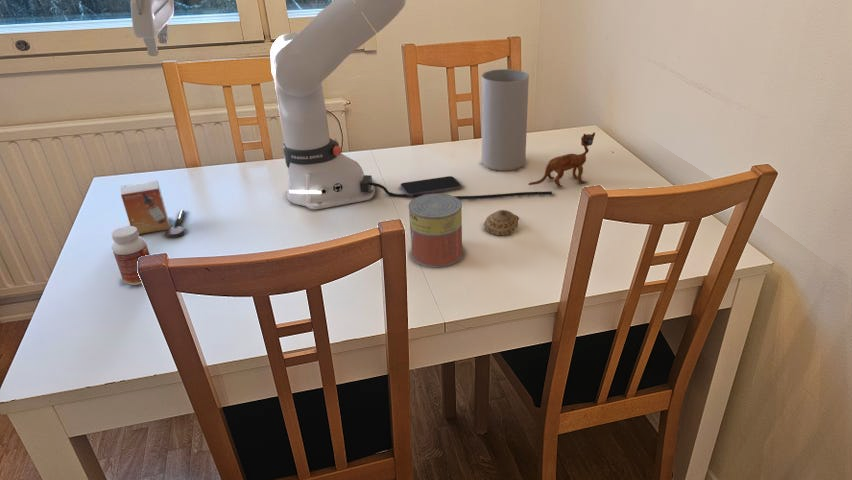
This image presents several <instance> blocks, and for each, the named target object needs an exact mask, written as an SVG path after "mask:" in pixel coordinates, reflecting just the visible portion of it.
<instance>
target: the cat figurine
mask: <svg viewBox="0 0 852 480" xmlns="http://www.w3.org/2000/svg"><path fill="white" fill-rule="evenodd" d="M595 136H596V132H595V131H593V132H592V133H591V134H589V133H586V134H585V133H583V136H581V137H580V141H581V142H580V143H581V145H580V146H582V147H583V148H584V152H583V153H579V154H576V153H567V154H564V155H559V156H556V157H554V158H551V159H550V160H549V161H548V163H547V164H546V166H545V168H544V174H543V176H542V178H540V179H539V180H536V181H532V182H529V183H528V184H527V185H528V186H533V185H534V186H535V185H539V184H542V183H543V182H545V181H546V179H547V178H548V179H549V180H551V181H552V180H553V182H554V184H555V185H556V187H557V188H563V187H564V186H563V185H562V184H561V183H560V180H561V179H562V178H563V176H564V174H565V172H566V171H569V170H572V178H574V179H576V180H577V182H578V183H580V184H585V183H586V181H584V180H583V179H582V176H583V173H584V167H583V165H584V164H585V163H586V162H587V156H586V155H587V154H588V153H589V151H590V150H589V148H588V147H590V146H592V145H593V143H594V139H595ZM577 171H578V172H577ZM552 172H555V173H556V174H557V175H556V176H555V177H554V176H552ZM576 172H577V173H576Z"/></svg>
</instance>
